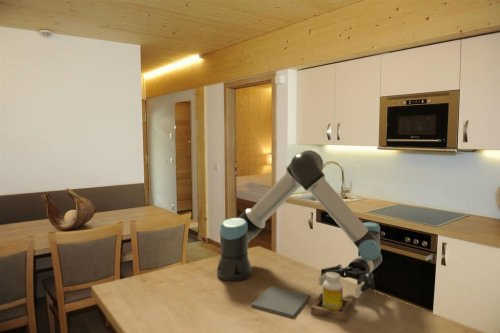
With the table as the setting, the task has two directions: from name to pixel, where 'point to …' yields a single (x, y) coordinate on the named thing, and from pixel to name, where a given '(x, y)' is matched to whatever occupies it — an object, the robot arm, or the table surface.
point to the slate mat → (281, 301)
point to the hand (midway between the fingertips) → (337, 286)
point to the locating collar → (332, 314)
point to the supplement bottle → (332, 292)
